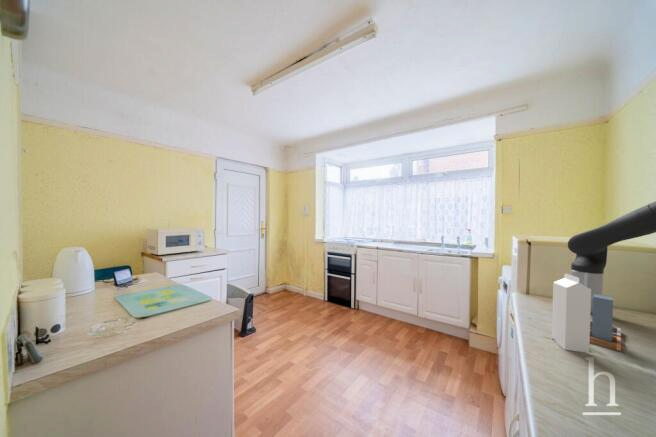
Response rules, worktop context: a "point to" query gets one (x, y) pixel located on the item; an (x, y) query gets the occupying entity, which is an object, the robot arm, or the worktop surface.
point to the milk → (571, 314)
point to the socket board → (616, 340)
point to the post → (602, 317)
